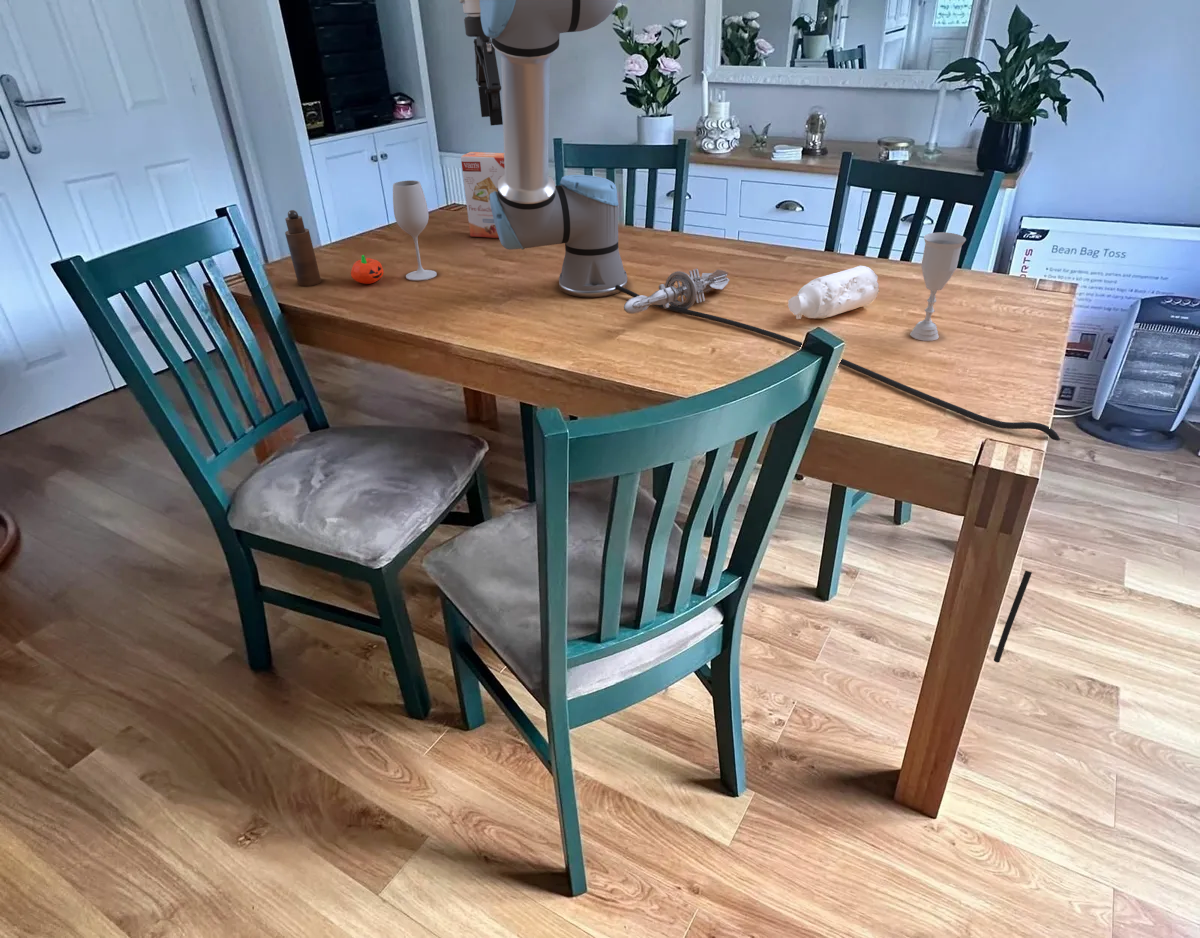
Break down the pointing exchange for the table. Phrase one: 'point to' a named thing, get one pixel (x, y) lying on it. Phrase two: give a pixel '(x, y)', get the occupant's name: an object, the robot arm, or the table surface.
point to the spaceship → (679, 291)
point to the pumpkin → (367, 270)
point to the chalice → (937, 275)
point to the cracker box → (481, 190)
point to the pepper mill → (301, 251)
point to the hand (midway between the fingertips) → (491, 120)
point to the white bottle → (835, 293)
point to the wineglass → (412, 218)
